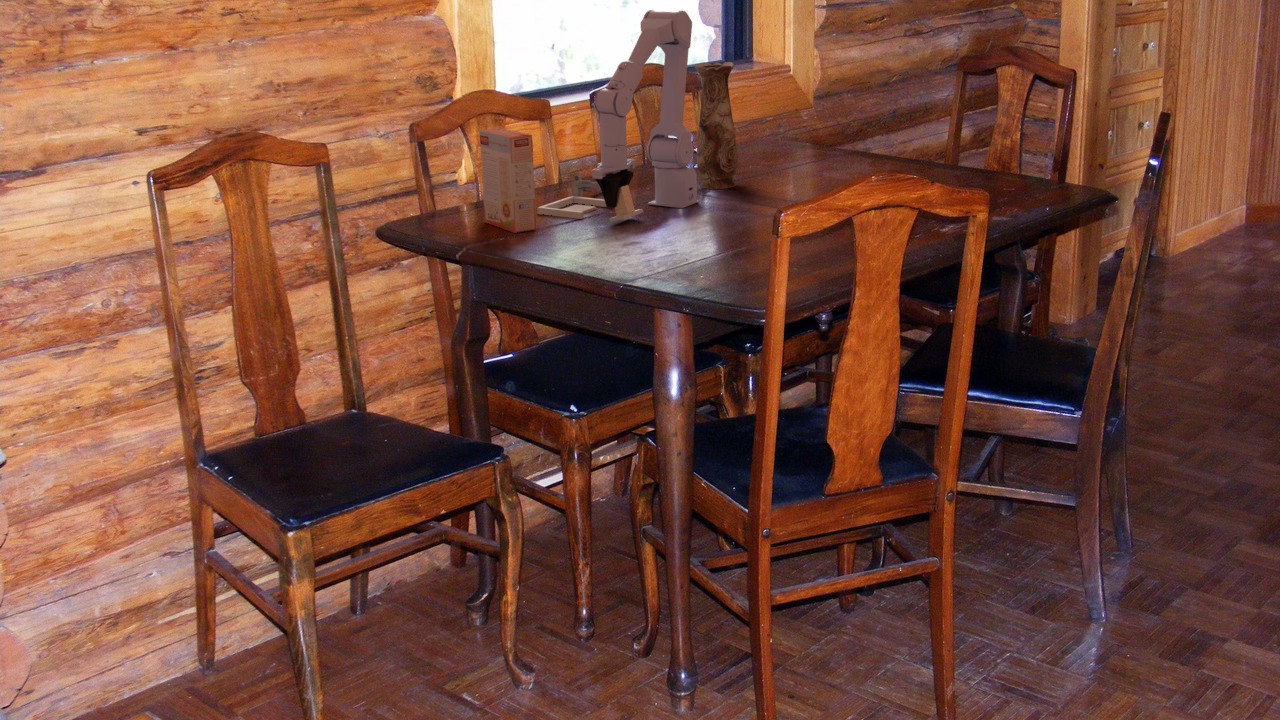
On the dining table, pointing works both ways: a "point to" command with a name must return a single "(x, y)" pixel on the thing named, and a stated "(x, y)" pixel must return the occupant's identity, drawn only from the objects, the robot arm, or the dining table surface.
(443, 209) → the dining table surface
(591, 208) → the tile
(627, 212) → the scraper
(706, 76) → the vase
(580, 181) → the caliper
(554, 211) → the frame
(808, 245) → the dining table surface
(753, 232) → the dining table surface
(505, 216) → the cracker box
